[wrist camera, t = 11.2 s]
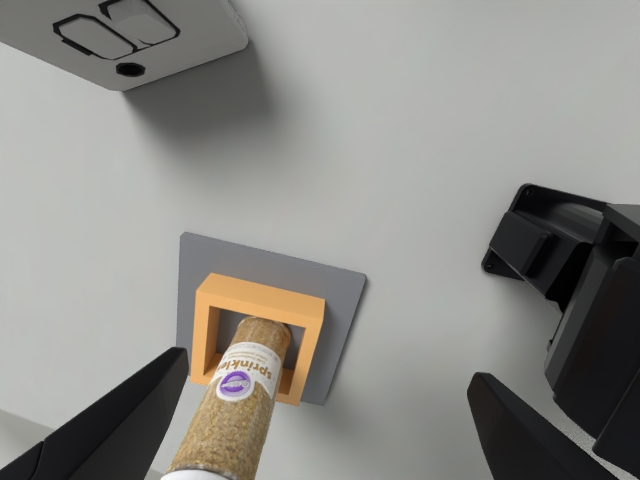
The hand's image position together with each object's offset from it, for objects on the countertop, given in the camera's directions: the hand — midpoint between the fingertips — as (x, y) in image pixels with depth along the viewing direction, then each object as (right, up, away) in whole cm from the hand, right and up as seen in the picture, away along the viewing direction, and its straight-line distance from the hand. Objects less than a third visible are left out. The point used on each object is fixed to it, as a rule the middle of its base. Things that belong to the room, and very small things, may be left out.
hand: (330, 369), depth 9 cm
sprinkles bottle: (-5, -4, +16) cm, 17 cm away
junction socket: (-5, -3, +16) cm, 17 cm away
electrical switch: (-10, +17, +8) cm, 21 cm away
